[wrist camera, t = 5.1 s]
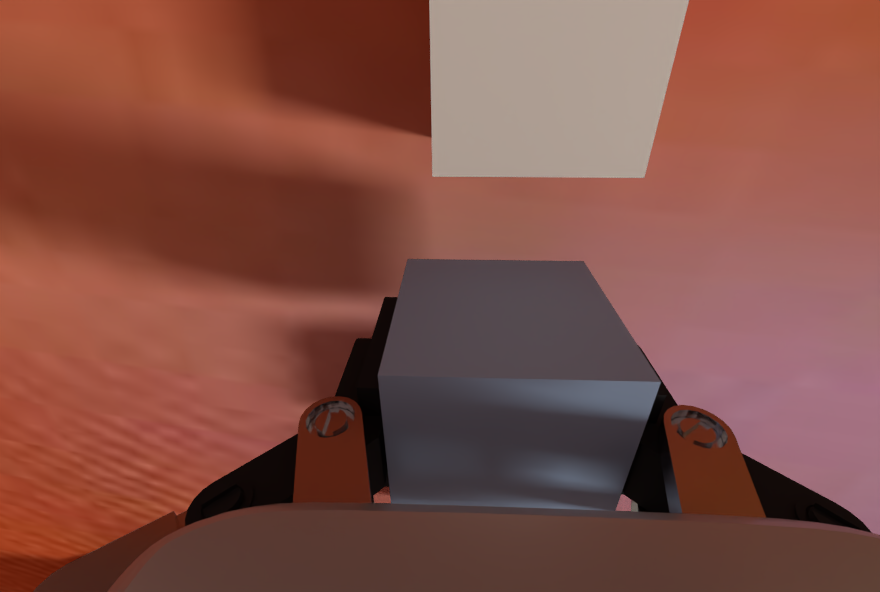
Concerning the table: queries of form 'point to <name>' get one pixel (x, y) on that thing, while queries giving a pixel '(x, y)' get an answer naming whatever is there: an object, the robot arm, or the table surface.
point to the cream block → (549, 85)
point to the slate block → (510, 387)
